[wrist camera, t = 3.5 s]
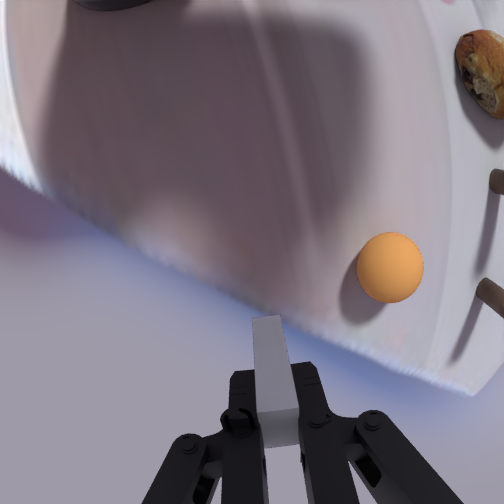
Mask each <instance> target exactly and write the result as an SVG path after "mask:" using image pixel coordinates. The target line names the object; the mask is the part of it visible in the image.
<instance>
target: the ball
mask: <svg viewBox="0 0 504 504" xmlns="http://www.w3.org/2000/svg"><path fill="white" fill-rule="evenodd" d="M423 269H424V266H423V259H422V255H421V253H420V251H419V249H418V247H417V246H416V244H415V243H414V242H413V241H412V240H411V239H409V238H408V237H406V236H404V235H402V234H399V233H394V232H387V233H382V234H379V235H377V236H375V237H373V238H372V239H370V240H369V241H368V242H367V243H366V244H365V246H364V247H363V248H362V250H361V252H360V254H359V257H358V262H357V275H358V279H359V282H360V284H361V286H362V288H363V289H364V291H365V292H366V293H367V294H368V295H369V296H370V297H372V298H373V299H375V300H377V301H380V302H383V303H396V302H400V301H402V300H404V299H406V298H408V297H409V296H411V295H412V294H413V293H414V292H415V290H416V289H417V288H418V286H419V284H420V282H421V279H422V276H423Z"/></svg>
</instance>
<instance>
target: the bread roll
mask: <svg viewBox="0 0 504 504" xmlns="http://www.w3.org/2000/svg"><path fill="white" fill-rule="evenodd" d="M456 59H457V63H458V66H459V70H460V74H461V77H462V79H463V82H464V84H465V86H466V88H467V89H468V91H469V92H470V94H471V95H472V96H473V97H474V98H475V100H476V101H477V103H478V104H479V105H480V106H481V107H482V108H483V109H485V110H486V111H487V112H489V113H490V114H491V116H493V117H495V118H497V119H504V38H503V37H501V36H500V35H499V34H497V33H496V32H494V31H489V30H476V31H472V32H469V33H467V34H464V35H462V36H461V37H460V39H459V41H458V44H457V46H456Z"/></svg>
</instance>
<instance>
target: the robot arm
mask: <svg viewBox="0 0 504 504" xmlns="http://www.w3.org/2000/svg"><path fill="white" fill-rule="evenodd" d="M75 1H76V2H78V3H79V4H81V5H82V6H84V7H86V8H88V9H92V10H97V11H112V10H119V9H125V8H129V7H133V6H137V5H140V4H143V3H146V2H149V1H152V0H75ZM252 322H253V324H252V325H253V344H254V366H255V369H254V370H245V371H244V370H243V371H235V372H234V373H233V375H232V376H231V378H230V389H229V408H228V409H227V410H225V411H224V412H223V414H222V415H221V418H220V421H221V424H222V427H223V429H222V430H221V431H220V432H218V433H216V434H214V435H210V436H206V437H203V438H202V437H201V436H199V435H196V434H189V433H188V434H185V435H181V436H180V437H178V438H177V439H176V440H175V441H174V442H173V444H172V446H171V448H170V450H169V452H168V454H167V456H166V458H165V460H164V462H163V464H162V466H161V468H160V469H159V471H158V473H157V475H156V477H155V479H154V481H153V483H152V485H151V487H150V489H149V490H148V492H147V494H146V496H145V498H144V500H143V502H142V504H210V503H211V501H212V498H213V495H214V492H215V490H216V487H217V485H218V482H219V479H220V477H222V494H221V504H269V499H268V485H267V472H266V459H265V455H264V448H272V447H281V446H288V445H296V444H299V443H300V449H301V462H302V466H303V473H304V478H305V485H306V491H307V498H308V504H360V503H359V500H358V496H357V492H356V488H355V485H354V481H353V478H352V474H351V471H350V467H349V463H348V461H349V462H350V463H351V465H352V466H353V468H354V469H355V471H356V472H357V474H358V475H359V477H360V478H361V480H362V481H363V483H364V484H365V486H366V487H367V489H368V490H369V492H370V493H371V495H372V496H373V498H374V499H375V501H376V502H377V504H464V503H463V502H462V501H461V500H460V499H459V498H458V497H457V495H456V494H455V493H454V492H453V491H452V490H451V489H450V487H449V486H448V485H447V484H446V483H445V482H444V481H443V480H442V478H441V477H440V476H439V475H438V474H437V473H436V471H435V470H434V469H433V468H432V467H431V466H430V465H429V463H428V462H427V461H426V460H425V459H424V458H423V457H422V455H421V454H420V453H419V452H418V451H417V450H416V448H415V447H414V446H413V445H412V444H411V443H410V442H409V440H408V439H407V438H406V437H405V436H404V435H403V433H402V432H401V431H400V430H399V429H398V428H397V427H396V425H394V423H393V422H392V421H391V420H390V419H389V417H388V416H387V415H386V414H384V413H383V412H381V411H378V410H369V411H366V412H363V413H362V414H361V415H359V417H358V418H348V417H341V416H338V415H336V414H334V413H333V412H332V411H331V410H330V409H329V407H328V404H327V400H326V397H325V394H324V391H323V387H322V384H321V381H320V378H319V374H318V372H317V368H316V367H315V366H314V365H313V364H312V363H311V362H310V361H309V362H303V363H296V364H290V361H289V356H288V351H287V346H286V342H285V337H284V332H283V327H282V323H281V318H280V315H273V316H265V317H257V318H252Z"/></svg>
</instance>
